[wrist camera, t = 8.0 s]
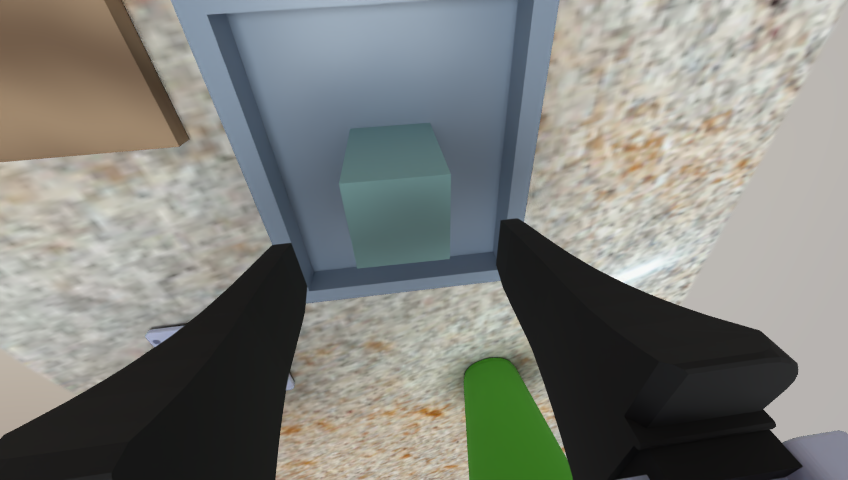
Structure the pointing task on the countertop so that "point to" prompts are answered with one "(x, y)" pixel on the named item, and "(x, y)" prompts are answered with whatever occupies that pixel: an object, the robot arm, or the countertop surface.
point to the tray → (376, 116)
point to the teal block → (396, 195)
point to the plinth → (78, 82)
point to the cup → (507, 427)
